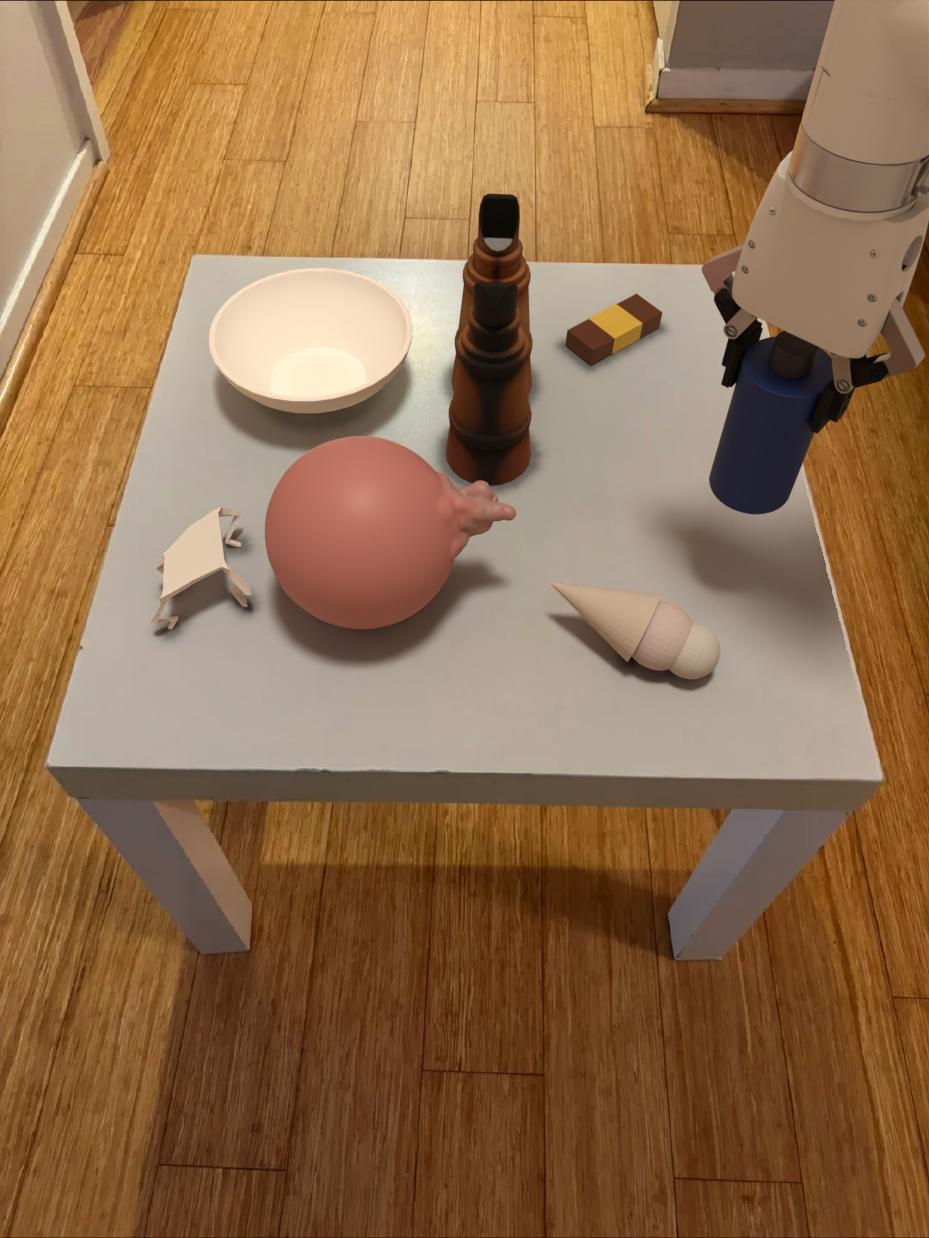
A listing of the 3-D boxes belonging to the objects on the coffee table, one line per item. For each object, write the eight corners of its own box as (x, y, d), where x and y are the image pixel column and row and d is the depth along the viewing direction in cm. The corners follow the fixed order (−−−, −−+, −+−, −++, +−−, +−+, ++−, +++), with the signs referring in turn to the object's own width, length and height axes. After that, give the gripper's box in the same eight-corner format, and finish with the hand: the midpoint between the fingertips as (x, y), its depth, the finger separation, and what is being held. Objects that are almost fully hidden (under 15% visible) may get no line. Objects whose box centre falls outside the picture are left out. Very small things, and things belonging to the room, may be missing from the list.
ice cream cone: (539, 605, 84) (699, 683, 83) (527, 624, 78) (699, 707, 77) (569, 542, 82) (733, 620, 81) (560, 557, 76) (736, 641, 75)
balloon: (514, 664, 81) (526, 547, 68) (271, 665, 80) (238, 548, 68) (506, 521, 90) (516, 394, 77) (287, 522, 89) (261, 394, 77)
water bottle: (805, 481, 78) (863, 339, 67) (763, 527, 75) (816, 387, 64) (736, 444, 80) (780, 300, 69) (693, 487, 78) (731, 346, 66)
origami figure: (250, 640, 82) (239, 606, 78) (150, 635, 82) (135, 601, 78) (273, 530, 89) (265, 493, 85) (182, 525, 89) (169, 489, 85)
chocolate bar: (633, 308, 107) (636, 292, 105) (659, 328, 105) (663, 312, 104) (564, 345, 104) (566, 329, 102) (591, 366, 102) (593, 350, 100)
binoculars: (453, 353, 103) (454, 173, 86) (532, 356, 102) (548, 177, 86) (443, 483, 92) (441, 307, 76) (530, 487, 92) (547, 311, 76)
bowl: (449, 358, 102) (448, 304, 96) (350, 481, 92) (344, 428, 87) (291, 301, 107) (282, 246, 101) (182, 411, 97) (166, 357, 92)
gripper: (1033, 188, 54) (913, 426, 69) (760, 86, 61) (704, 323, 76) (976, 250, 51) (863, 486, 66) (694, 135, 58) (648, 373, 72)
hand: (778, 397), depth 70 cm, fingers closed on water bottle, 6 cm apart
